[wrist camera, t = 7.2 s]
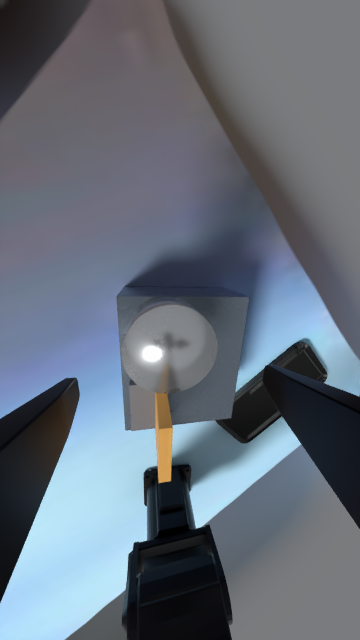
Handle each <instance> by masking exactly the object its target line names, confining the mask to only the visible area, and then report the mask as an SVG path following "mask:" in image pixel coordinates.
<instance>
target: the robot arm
mask: <svg viewBox="0 0 360 640" xmlns="http://www.w3.org/2000/svg"><path fill="white" fill-rule="evenodd" d="M262 381H263V384H264V386H265V388H266V389H267V391H268V393H269V395H270V397H271V398H272V400H273V402H274V404H275V405H276V407H277V409H278V410H279V412H280V414H281V415H282V417H283V418H284V419H285V421H286V422H287V424H288V425H289V427H290V428H291V430H292V431H293V433H294V434H295V435H296V437H297V438H298V440H299V441H300V443H301V444H302V446H303V447H304V448H305V450H306V451H307V453H308V454H309V456H310V457H311V459H312V460H313V461H314V463H315V465H316V466H317V467H318V469H319V470H320V472H321V473H322V475H323V476H324V478H325V479H326V481H327V482H328V484H329V485H330V486H331V488H332V489H333V491H334V492H335V494H336V495H337V497H338V498H339V500H340V501H341V502H342V504H343V505H344V507H345V508H346V510H347V511H348V513H349V514H350V516H351V517H352V518H353V520H354V521H355V523H356V524H357V526H358V527H359V529H360V397H358V396H356V395H354V394H351V393H348V392H346V391H343V390H340V389H338V388H335V387H332V386H330V385H327V384H324V383H322V382H319V381H316V380H314V379H311V378H308V377H306V376H303V375H300V374H298V373H295V372H292V371H290V370H287V369H284V368H282V367H279V366H276V365H266V366H265V369H264V373H263V378H262ZM79 397H80V393H79V387H78V380H77V379H76V378H66V379H64V380H62V381H61V382H59V383H57V384H56V385H54V386H53V387H51V388H49V389H48V390H46V391H45V392H43V393H41V394H40V395H38V396H37V397H35V398H33V399H32V400H30V401H28V402H27V403H25V404H24V405H22V406H20V407H19V408H17V409H16V410H14V411H12V412H11V413H9V414H7V415H6V416H4V417H3V418H1V419H0V602H1V600H2V597H3V595H4V593H5V590H6V588H7V585H8V583H9V580H10V578H11V575H12V573H13V570H14V568H15V566H16V563H17V561H18V558H19V556H20V553H21V551H22V548H23V546H24V544H25V541H26V539H27V536H28V534H29V531H30V529H31V526H32V524H33V521H34V519H35V517H36V514H37V512H38V509H39V507H40V504H41V502H42V499H43V497H44V495H45V492H46V490H47V487H48V485H49V482H50V480H51V477H52V475H53V472H54V470H55V468H56V465H57V463H58V460H59V458H60V455H61V453H62V450H63V448H64V446H65V443H66V441H67V438H68V435H69V432H70V429H71V426H72V422H73V419H74V415H75V412H76V408H77V405H78V401H79ZM190 477H191V467H190V465H183V466H177V467H171V481H168V482H162V483H159V480H158V470H151V471H146V472H145V473H144V504H145V506H147V541H144V542H140V543H139V542H135V543H134V547H133V551H132V552H130V553H129V557H128V573H127V583H126V591H125V598H124V606H123V614H122V627H123V628H124V630H125V632H126V633H127V640H232V638H231V633H230V628H229V625H231V624H232V610H231V603H230V598H229V592H228V587H227V583H226V579H225V575H224V571H223V568H222V565H221V561H220V559H219V555H218V551H217V548H216V545H215V541H214V538H213V535H212V532H211V528H210V525H209V524H208V525H205V527H201V528H197V529H196V526H195V521H194V516H193V510H192V505H191V500H190V494H189V489H190Z"/></svg>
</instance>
